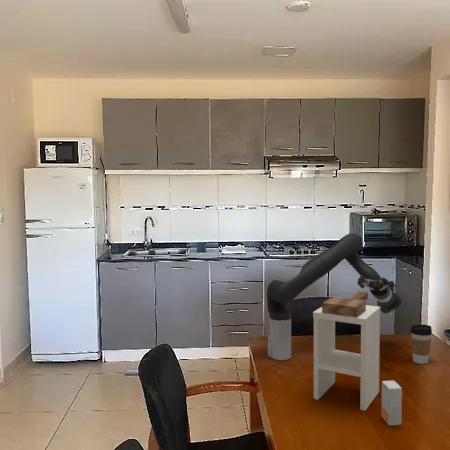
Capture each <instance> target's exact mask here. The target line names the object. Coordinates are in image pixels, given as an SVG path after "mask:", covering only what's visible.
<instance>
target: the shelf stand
mask: <svg viewBox="0 0 450 450" xmlns="http://www.w3.org/2000/svg"><path fill="white" fill-rule="evenodd" d="M312 315H313V316H312V318H313V399H314V400H317V401H319V400H320V399H321V398H322V396H323V395H324V394H325V393H326V392H327V391H329V389H330V388H331V387H333V385H334V384H335V382H336V373H338V374H343V375H348V376H353V377H359V378H360V389H359V390H360V395H359V396H360V397H359V399H360V401H359V403H360V404H359V405H360V406H359V409H360V411H363V410H364V411H363V412H365V411H366V410H367V409H368V408H369V406H370V405H371V404H372V402H373V400H374V399H375V398H376V397H377V395H378V394H379V392H380V340H381V338H380V334H381V331H380V330H381V329H380V328H381V327H380V326H381V325H380V324H381V311H380V307H378V305H375V306H374V305H367V304H366V311H365V312H363V313H362V314H361V315H360V316H358V317H357V318H355V317H348V316H341V315H333V314H326V313H322V306H320V307H319V308H317V309H315V311H312ZM336 322H340V323H346V324H353V325H354V324H355V325H360V353H358V352H357V353H356V352H351V351H347V350H339V349H336Z"/></svg>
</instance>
